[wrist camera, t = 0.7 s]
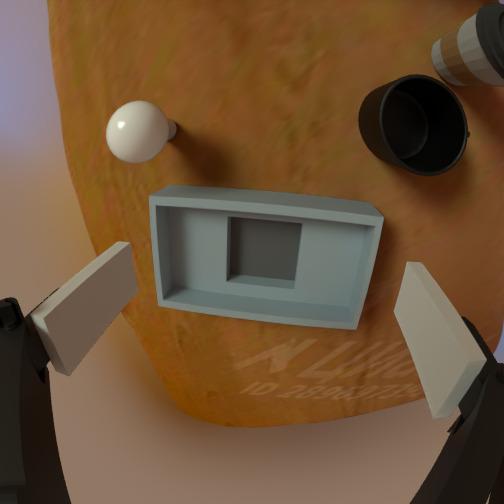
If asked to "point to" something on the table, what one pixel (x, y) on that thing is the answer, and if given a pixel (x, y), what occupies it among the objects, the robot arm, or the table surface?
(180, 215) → the socket box
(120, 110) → the lightbulb
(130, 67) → the table surface
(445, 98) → the mug
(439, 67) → the coffee cup
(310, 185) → the table surface
